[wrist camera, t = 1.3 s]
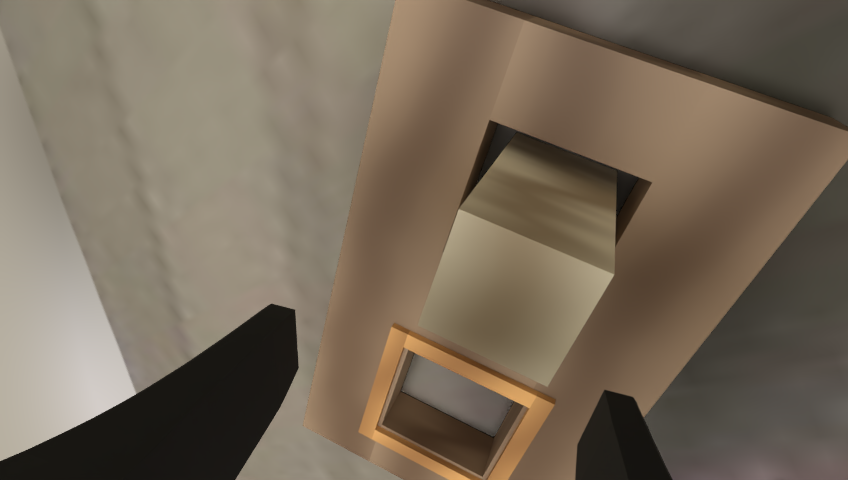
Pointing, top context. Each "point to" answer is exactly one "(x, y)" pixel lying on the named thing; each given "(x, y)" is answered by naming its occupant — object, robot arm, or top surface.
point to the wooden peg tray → (634, 238)
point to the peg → (526, 258)
